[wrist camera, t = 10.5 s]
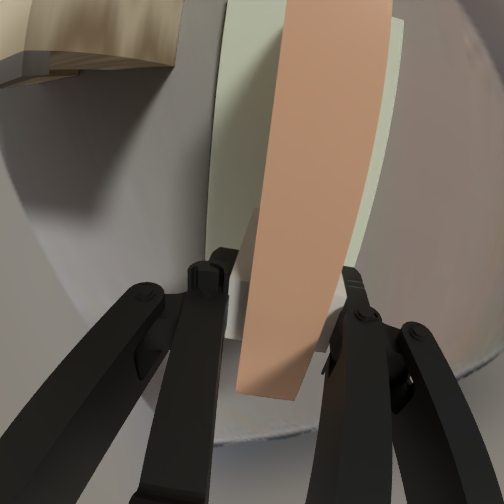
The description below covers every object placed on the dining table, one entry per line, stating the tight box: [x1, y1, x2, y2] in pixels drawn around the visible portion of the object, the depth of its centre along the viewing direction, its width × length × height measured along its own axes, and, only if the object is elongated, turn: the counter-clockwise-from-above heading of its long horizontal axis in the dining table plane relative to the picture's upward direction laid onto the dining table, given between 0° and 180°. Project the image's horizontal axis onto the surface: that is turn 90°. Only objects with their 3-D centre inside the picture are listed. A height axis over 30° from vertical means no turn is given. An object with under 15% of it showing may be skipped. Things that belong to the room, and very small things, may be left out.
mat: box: [205, 0, 404, 267], centre depth 16 cm, size 18×10×1 cm, turn 174°
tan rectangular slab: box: [236, 0, 393, 401], centre depth 11 cm, size 16×2×9 cm, turn 174°
